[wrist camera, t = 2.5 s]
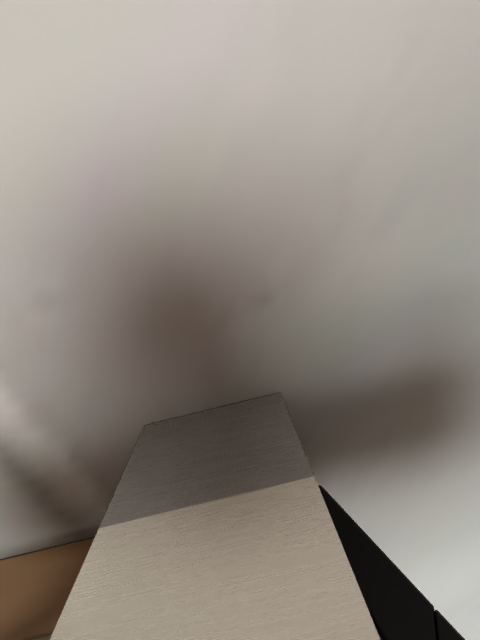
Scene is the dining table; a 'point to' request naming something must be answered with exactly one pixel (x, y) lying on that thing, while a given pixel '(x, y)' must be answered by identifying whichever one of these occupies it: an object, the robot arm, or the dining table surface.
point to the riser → (38, 590)
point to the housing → (217, 540)
